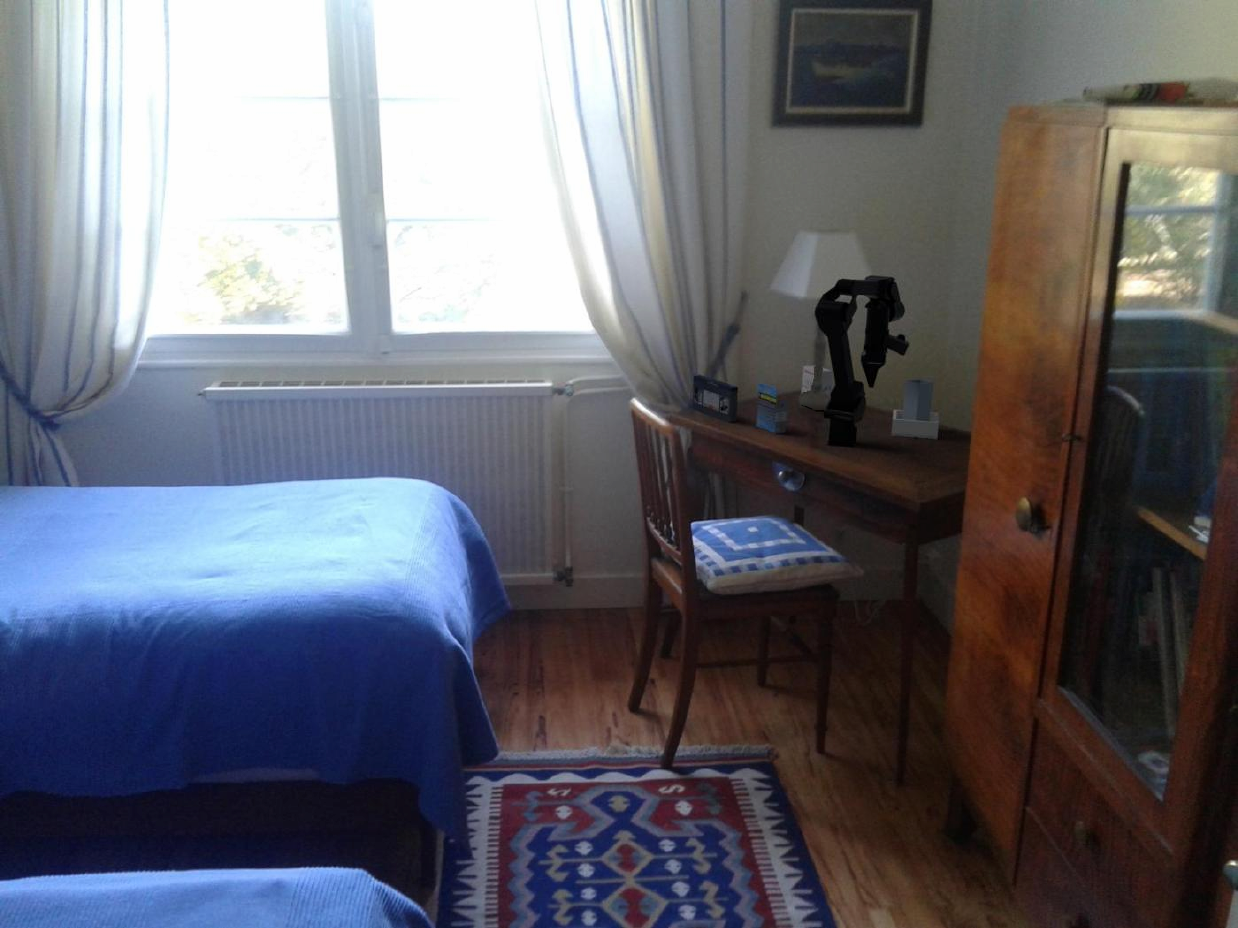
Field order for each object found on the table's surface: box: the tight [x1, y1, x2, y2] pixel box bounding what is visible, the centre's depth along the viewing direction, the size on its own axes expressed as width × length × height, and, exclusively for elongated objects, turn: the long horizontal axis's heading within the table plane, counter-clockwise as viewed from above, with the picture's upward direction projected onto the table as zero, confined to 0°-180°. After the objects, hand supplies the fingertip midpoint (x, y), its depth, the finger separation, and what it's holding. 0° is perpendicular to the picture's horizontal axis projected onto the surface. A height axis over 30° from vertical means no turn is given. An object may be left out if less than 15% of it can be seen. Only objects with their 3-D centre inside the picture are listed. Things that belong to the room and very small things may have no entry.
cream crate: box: [890, 409, 940, 440], centre depth 284 cm, size 12×12×4 cm
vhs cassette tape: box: [692, 374, 739, 424], centre depth 297 cm, size 18×3×10 cm, turn 28°
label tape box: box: [756, 381, 788, 435], centre depth 283 cm, size 9×4×12 cm, turn 27°
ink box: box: [800, 365, 833, 396], centre depth 308 cm, size 8×5×12 cm, turn 22°
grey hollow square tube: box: [902, 378, 934, 422], centre depth 282 cm, size 5×5×13 cm
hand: (871, 384), depth 280 cm, fingers open, 9 cm apart
